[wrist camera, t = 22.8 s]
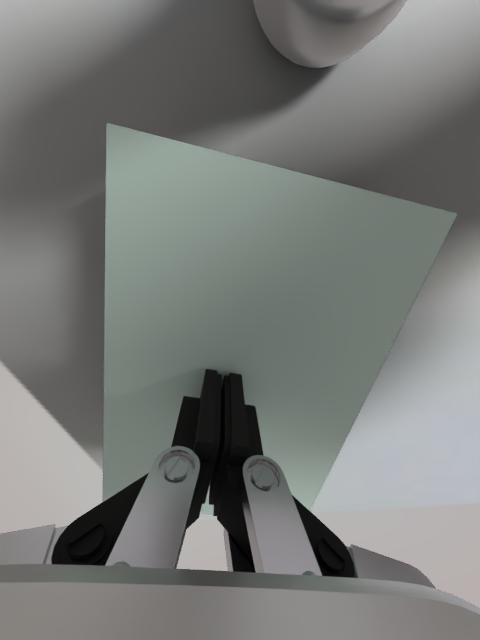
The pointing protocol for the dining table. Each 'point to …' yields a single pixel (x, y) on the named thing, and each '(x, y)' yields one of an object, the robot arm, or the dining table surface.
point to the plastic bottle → (323, 27)
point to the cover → (248, 299)
